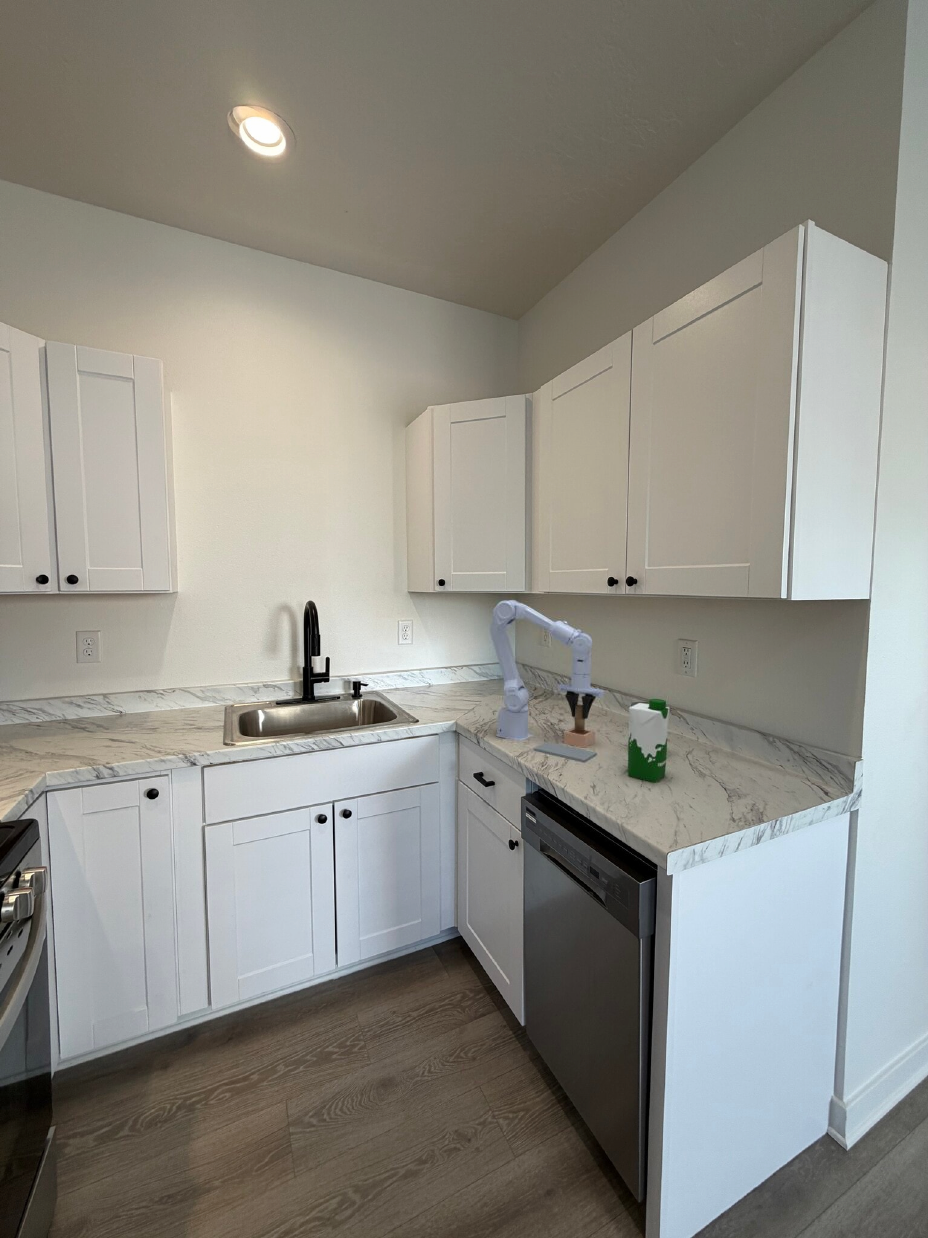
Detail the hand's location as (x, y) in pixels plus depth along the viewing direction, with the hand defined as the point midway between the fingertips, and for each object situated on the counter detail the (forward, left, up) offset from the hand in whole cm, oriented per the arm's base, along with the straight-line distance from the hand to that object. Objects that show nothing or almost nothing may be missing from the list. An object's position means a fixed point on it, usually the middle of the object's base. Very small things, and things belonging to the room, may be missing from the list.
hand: (579, 717), depth 158 cm
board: (+1, -11, -8) cm, 14 cm away
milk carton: (+25, -13, -9) cm, 30 cm away
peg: (0, 0, -4) cm, 4 cm away
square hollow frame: (0, 0, -8) cm, 9 cm away
